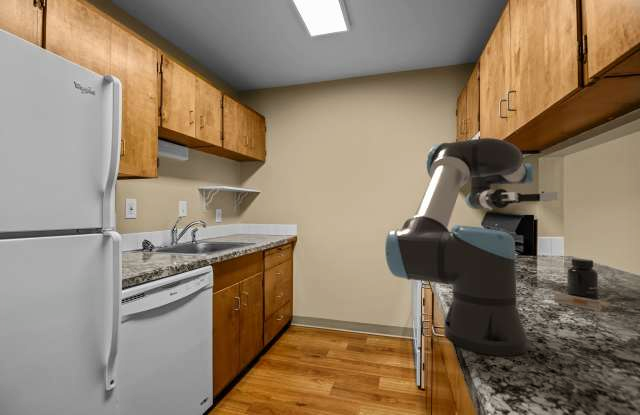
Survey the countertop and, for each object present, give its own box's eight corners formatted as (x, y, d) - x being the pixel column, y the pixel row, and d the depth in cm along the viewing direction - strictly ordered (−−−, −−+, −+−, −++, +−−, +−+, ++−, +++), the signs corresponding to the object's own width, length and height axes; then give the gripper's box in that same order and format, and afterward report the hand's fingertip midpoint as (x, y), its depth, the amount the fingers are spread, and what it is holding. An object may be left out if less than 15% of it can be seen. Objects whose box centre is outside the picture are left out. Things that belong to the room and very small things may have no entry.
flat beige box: (598, 311, 82) (598, 301, 82) (554, 302, 90) (554, 293, 90) (610, 304, 87) (610, 295, 87) (567, 296, 96) (567, 288, 96)
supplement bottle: (598, 306, 84) (597, 262, 84) (566, 301, 89) (566, 259, 89) (598, 300, 89) (597, 259, 89) (568, 296, 94) (567, 257, 94)
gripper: (525, 208, 120) (573, 207, 99) (463, 208, 119) (498, 207, 97) (525, 189, 120) (573, 184, 99) (463, 189, 119) (498, 184, 98)
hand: (536, 195), depth 98 cm, fingers open, 13 cm apart
